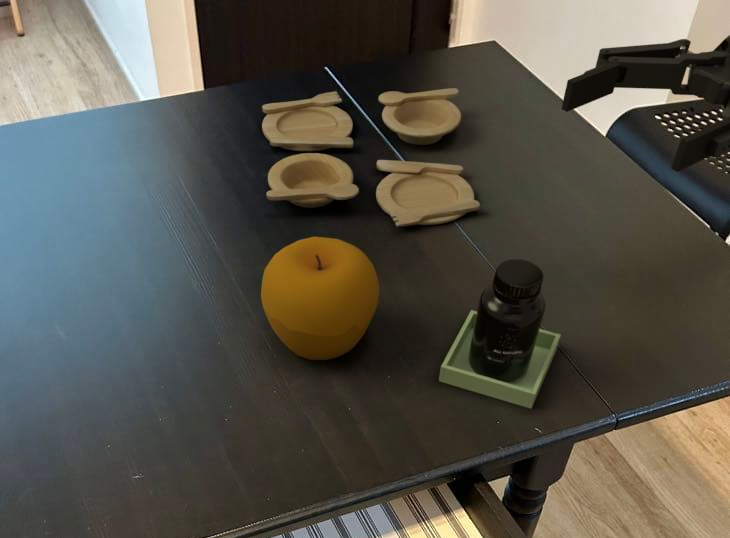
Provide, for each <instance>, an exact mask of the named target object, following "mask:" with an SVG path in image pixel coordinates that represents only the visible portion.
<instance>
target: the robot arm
mask: <svg viewBox="0 0 730 538" xmlns="http://www.w3.org/2000/svg"><path fill="white" fill-rule="evenodd" d="M691 43H692V41H691V40H689V39H687V38H681V39H677V40H674V41H670V42H663V43H652V44H638V45H628V46H627V45H626V46H615V47H613V46H612V47H604V48H600V49H599V51H598V56H597V59H596V62H595V63H596V64H595V67H593V68H591V69H588V70H586V71H584V73H582V74H580V75H577V76H575V77H572V78H569V79H568V80H567V81H566V86H565V92H564V95H563V100H562V105H561V110H563V111H565V112H566V113H568V112H570V111H573V110H575V109H578V108H580V107H582V106H585V105H587V104H590V103H592V102H594V101H597V100H599V99H602V98H604V97H606V96H607V97H608V96H609V95H611V94H613V93H614V91H615V88H617V89H618V88H619V89H645V90H647V89H649V90H670V91H671V93H672V94H673V95H676V96H695V97H697V98H699V99H703V100H705V101H706V102H708V103H709V104H711V105H713V106H715V105H719V106H720V109H721V113H722V119H720V120H719V121H717V122H714V123H713V124H711V125H708V126H705V127H704V128H701V129H699V130H697V131H694V132H693V133H690V134H688V135H686V136H684V137H682V138H680V141H679V143H678V146H677V150H676V153H675V156H674V158H673V160H672V163H671V166H670V169H671V170H673V171H675V172H676V173H678V172H681V171H682V170H685V169H687V168H689V167H691V166H692V165H695V164H697V163H700V162H702V161H704V160H705V159H708V158H713V159H715V158H720V157H722V156H724V155H727V154H728V153H730V34H729V35H728V36H727V37H725V38H724V39H723V40H722V41H721V42H720V43H719V44H718V45H717V46H716V47H715V48H714V49H713V50H710V51H702V52H699V53H695V52H693V51H691V50H689V49H690V46H691ZM687 69H689V70H688V76H687V81H686V83H683V81H684V78H685V75H686V71H687Z"/></svg>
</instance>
